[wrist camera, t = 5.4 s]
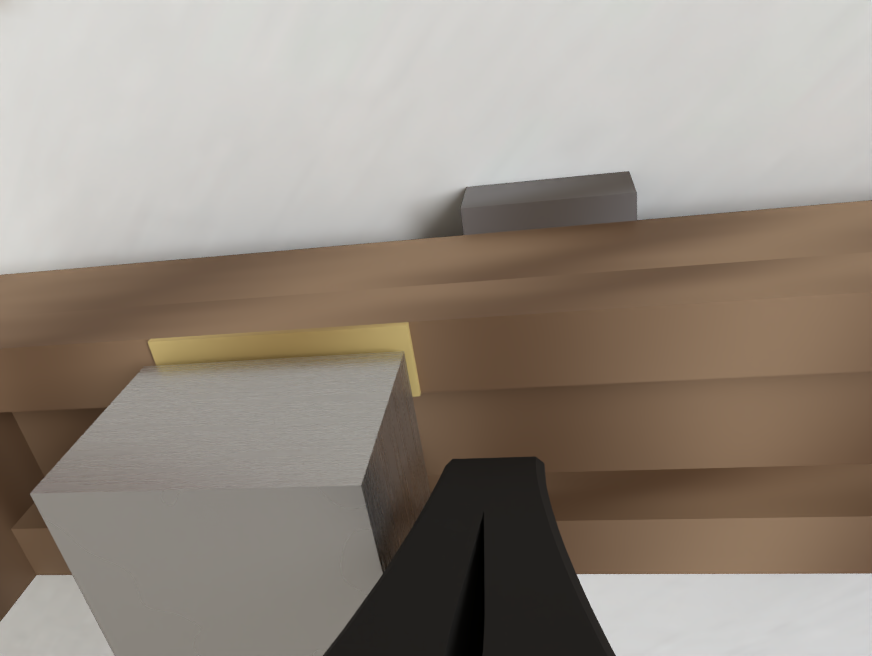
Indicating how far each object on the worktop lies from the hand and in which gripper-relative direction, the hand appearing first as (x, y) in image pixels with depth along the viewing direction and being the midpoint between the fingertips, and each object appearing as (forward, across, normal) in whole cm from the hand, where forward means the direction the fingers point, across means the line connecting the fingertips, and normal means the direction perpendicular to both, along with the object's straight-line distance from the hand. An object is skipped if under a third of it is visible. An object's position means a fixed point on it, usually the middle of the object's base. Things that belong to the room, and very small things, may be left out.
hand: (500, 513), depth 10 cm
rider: (+2, +3, 0) cm, 4 cm away
